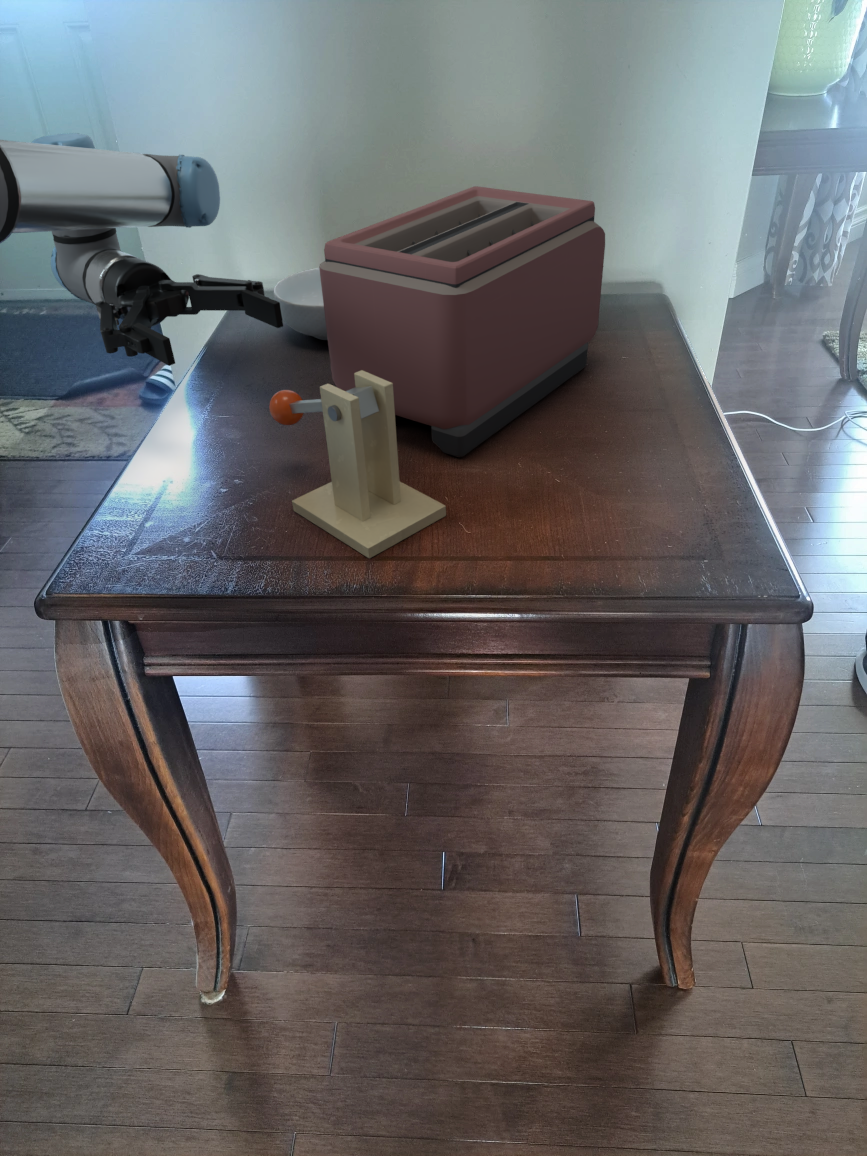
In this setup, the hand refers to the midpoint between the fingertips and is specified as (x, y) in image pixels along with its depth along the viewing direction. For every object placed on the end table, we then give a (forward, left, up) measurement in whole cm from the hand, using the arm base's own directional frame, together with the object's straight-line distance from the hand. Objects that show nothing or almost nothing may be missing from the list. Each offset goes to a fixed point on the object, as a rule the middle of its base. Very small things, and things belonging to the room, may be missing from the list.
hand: (226, 333), depth 88 cm
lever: (+16, -4, -5) cm, 17 cm away
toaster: (+17, +25, -13) cm, 33 cm away
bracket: (+21, -6, -13) cm, 26 cm away
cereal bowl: (-11, +33, -13) cm, 37 cm away
